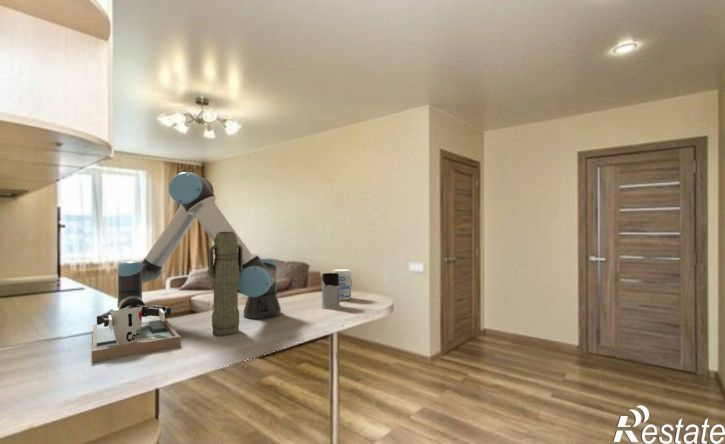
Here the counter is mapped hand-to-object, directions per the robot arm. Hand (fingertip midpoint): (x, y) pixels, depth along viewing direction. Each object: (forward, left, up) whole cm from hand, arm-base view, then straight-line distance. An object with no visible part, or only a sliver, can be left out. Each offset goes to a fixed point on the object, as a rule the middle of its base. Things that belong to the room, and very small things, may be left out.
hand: (138, 320), depth 110 cm
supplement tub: (-22, -92, -9) cm, 95 cm away
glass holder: (-28, -75, -9) cm, 80 cm away
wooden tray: (+12, -7, -9) cm, 16 cm away
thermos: (-11, -24, -9) cm, 28 cm away
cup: (+5, 0, -8) cm, 9 cm away
